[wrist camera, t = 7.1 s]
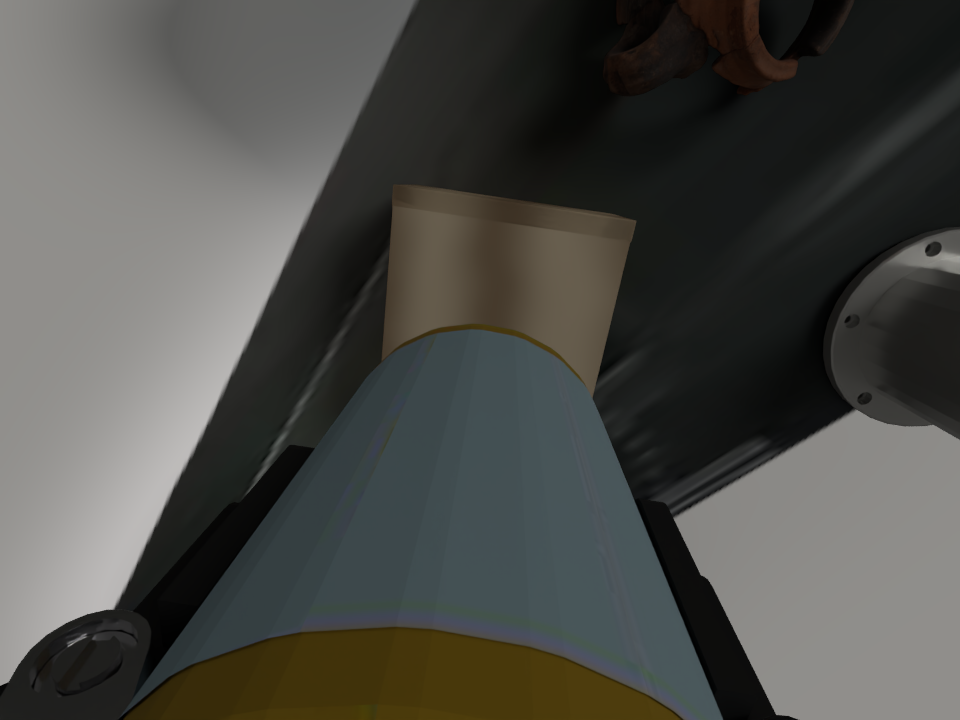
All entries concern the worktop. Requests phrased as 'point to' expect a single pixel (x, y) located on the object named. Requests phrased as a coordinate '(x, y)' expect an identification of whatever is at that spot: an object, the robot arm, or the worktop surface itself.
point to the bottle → (445, 563)
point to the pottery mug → (709, 43)
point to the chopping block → (504, 270)
